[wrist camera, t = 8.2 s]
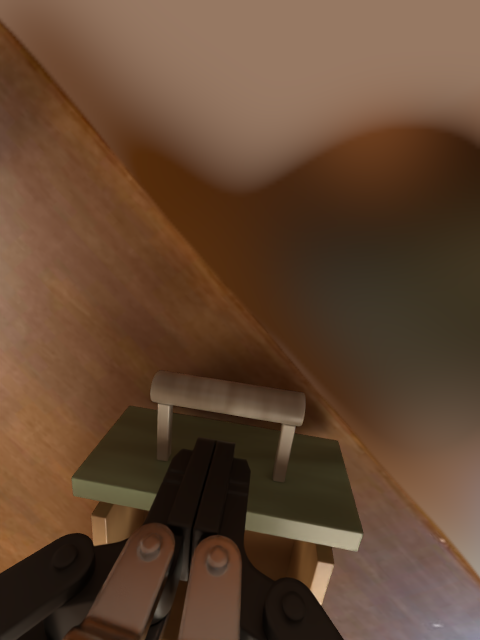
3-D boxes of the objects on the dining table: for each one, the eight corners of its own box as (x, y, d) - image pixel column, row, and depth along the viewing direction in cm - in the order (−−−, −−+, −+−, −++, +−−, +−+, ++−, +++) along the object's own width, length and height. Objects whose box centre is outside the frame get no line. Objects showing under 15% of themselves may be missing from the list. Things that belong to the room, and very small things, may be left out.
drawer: (128, 334, 18) (61, 384, 12) (357, 368, 17) (396, 440, 11) (131, 557, 24) (88, 656, 18) (298, 592, 23) (304, 708, 17)
